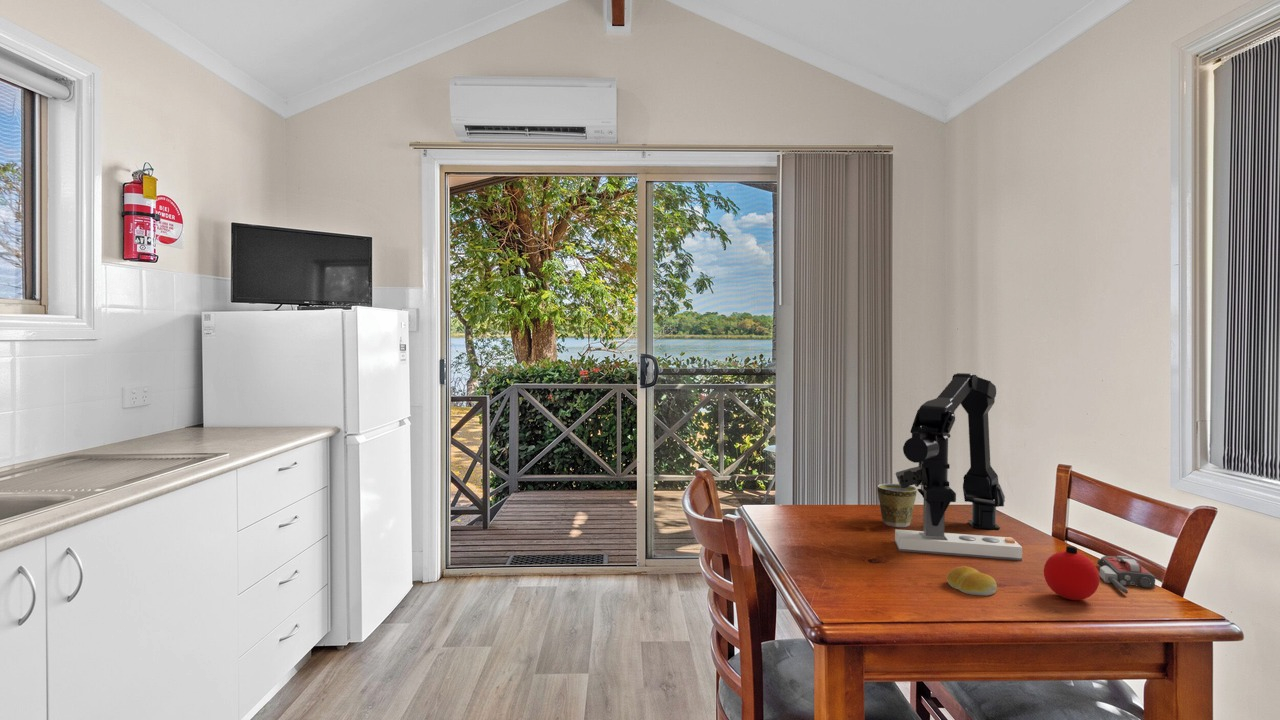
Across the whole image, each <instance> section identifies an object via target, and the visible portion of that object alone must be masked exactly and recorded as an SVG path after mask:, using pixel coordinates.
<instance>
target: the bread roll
mask: <svg viewBox="0 0 1280 720" xmlns="http://www.w3.org/2000/svg"><path fill="white" fill-rule="evenodd" d="M946 580H947V583H948V585H949V586H950V587H952V588H953V589H954V590H955V589H956V590H958V591H960V592H962V593H964V594H968V595H973V596H983V597H984V596H986V597H988V596H992V595H993V594H995V593H996V592H997V587H998V585H997V584H998V583H997V582H996V580H995V578H994V577H993V576H991V575H989V574H986V573H983V572H980V571H979V570H978V569H976V568H974V567H971V566H968V565H960V566H957V567H954V568H953V569H952V570H950V571H949V572H948V573H947V575H946Z"/></svg>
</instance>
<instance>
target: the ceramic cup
mask: <svg viewBox="0 0 1280 720" xmlns="http://www.w3.org/2000/svg"><path fill="white" fill-rule="evenodd" d="M876 487H877V489H876V490H877V495H878V500H879V507H880V513H881V518H882V519H881V520H882V523H883V524H884V525H886V526H888V527H893V528H906V527H909V526H910V525H911V522H912V521H911V520H912V517H913V511H914V507H915V502H916V498H917V491H918V490H917V489H918V488H917V487H916V486H915V487H914V486H913V485H911V486H908V487H907V488H901V486H900V485H899V483H880V484H878V485H877V486H876Z"/></svg>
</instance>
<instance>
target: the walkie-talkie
mask: <svg viewBox="0 0 1280 720" xmlns="http://www.w3.org/2000/svg"><path fill="white" fill-rule="evenodd" d="M1103 561H1104V562H1103ZM1097 565H1098V566H1099V578H1101V580H1103V581H1104V583H1107V584H1108V583H1109V584H1112V585H1114V586H1115V588H1117V589H1118V590H1120V591H1121V592H1122V593H1124V594H1128V592H1129V591H1128V589H1127V588H1126V587H1125V586H1130V585H1137V586H1136V587H1140V586H1141V587H1142V588H1144V589H1145V588H1147V589H1148V588H1151V589H1154V588H1156V585H1155V584H1156V576H1155V575H1154V574H1152V572H1150V571H1149V570H1147V569H1146V568H1145V567H1143V566H1142V565H1141V563H1139V562H1138V561H1136V560H1135V559H1134V558H1130V557H1129V556H1126V555H1125V556H1123V555H1116V556H1115V555H1104V556H1102V557H1101V558H1100V559H1097ZM1150 583H1151V584H1150Z"/></svg>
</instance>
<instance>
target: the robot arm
mask: <svg viewBox="0 0 1280 720" xmlns="http://www.w3.org/2000/svg"><path fill="white" fill-rule="evenodd" d="M996 396H997V387H996V385H995V384H994V383H993V382H992V381H991V380H988V379H985V378H982V377H979V376H978V375H976V374H973V373H966V372H965V373H964V372H963V373H961V372H960V373H959V372H957V373H955V374H953V376H952V379H951V380H950V382H949V383H948V384H947V385H946V386H945V387H944V389H943V390H942V392H940V394H939V395H938V396H937V397H936V398H934V399H930V400H927V401H925V402H924V403H923V404H921V405H920V406H919V409H917V410H916V411H917V412H916V414H915V417H914V420H913V422H912V425H911V429H910V433H911V437H909V438H908V439H907V440H906V441H905V442H904V445H903V446H902V450H903V455H904V457H905V458H906V459H907V460H908V461H910V462H912V463H914V464H915V463H916V464H917V463H918V466H915V467H911V468H907V469H902V470H901V471H896V472H895V474H894V475H895V476H896V478H897V482H898V484H899V485H900V486H901V488H907V487H908V486H913V485H915V488H916V489H917V491H918V493H920V495H921V496H922V498H923V500H924V499H925V500H926V501H927V502H928V503H929V507H930V513H931V519H932V525H933V526H938V524H939V522H940V521H941V519H942V517H943V515H944V513H945V514H946V511H947V510H948V508H949V506H950V504H951V503H955V502H957V492H955V491H954V490H953V488H951V487H950V481H949V480H948V474H949V473H948V472H949V471H948V470H949V469H950V468H951V467H950V463H949V439H950V438H951V434H950V432H951V431H952V428H953V427H954V424H955V421H956V416H955V411H956V410H957V409H958V408H959V406H961V407H962V408H963V410H964V411H965V412H966V413H967V421H968V439H969V441H968V442H969V457H970V459H969V460H970V462H969V464H970V468H969V469H968V470H967V472H966V474H964V475H963V482H962V490H963V491H962V492H963V498H964V502H965V503H967V502H969V503H971V512H972V513H971V519H968V521H967V522H968V523H969V524H970V526H971V527H973V528H974V529H975V528H976V529H987V530H990V529H991V530H1000V529H1001V527H1000V526H999V525H998V524H997V522H996V521H997V508H999V507H1004V506H1005V501H1006V495H1005V494H1004V491H1003V489H1002V486H1001V485H1000V483H999V476H998V474H997V472H996V471H995V470H994V468H993V467H992V465H991V452H990V451H991V449H990V448H991V447H990V445H991V444H990V427H989V426H990V425H989V412H990V410H991V408H992V407H993V406H994V404H995V400H996V399H995V398H996ZM919 486H920V488H919ZM917 487H918V488H917Z"/></svg>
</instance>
